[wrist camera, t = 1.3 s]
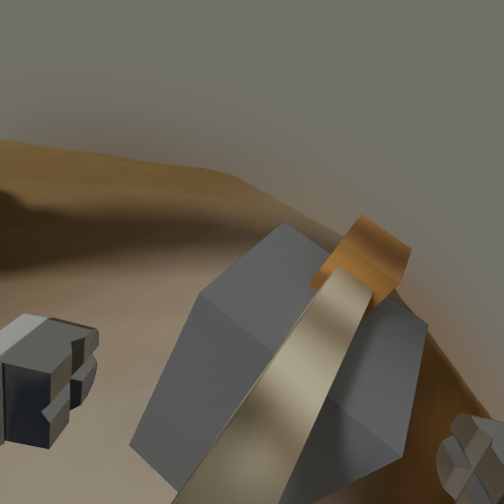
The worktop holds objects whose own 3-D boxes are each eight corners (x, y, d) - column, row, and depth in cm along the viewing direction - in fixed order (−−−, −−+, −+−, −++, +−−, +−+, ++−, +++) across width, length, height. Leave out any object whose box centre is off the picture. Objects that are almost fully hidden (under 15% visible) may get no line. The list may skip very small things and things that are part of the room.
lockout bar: (227, 616, 12) (284, 608, 9) (131, 520, 13) (157, 486, 10) (376, 287, 29) (411, 249, 26) (330, 254, 29) (361, 214, 27)
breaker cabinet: (232, 543, 35) (402, 457, 19) (129, 445, 37) (199, 292, 21) (286, 437, 44) (429, 320, 28) (201, 365, 47) (287, 218, 31)
